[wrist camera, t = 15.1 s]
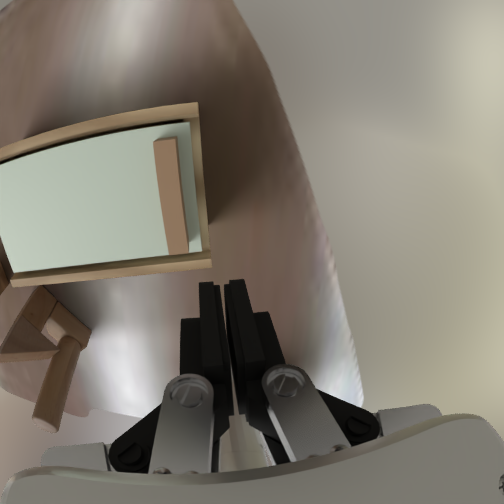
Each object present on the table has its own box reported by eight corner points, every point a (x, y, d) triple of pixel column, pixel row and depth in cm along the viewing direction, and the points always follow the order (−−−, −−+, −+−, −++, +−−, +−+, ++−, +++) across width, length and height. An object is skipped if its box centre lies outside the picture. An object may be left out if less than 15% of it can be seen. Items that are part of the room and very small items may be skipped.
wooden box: (208, 225, 34) (212, 267, 26) (45, 246, 32) (12, 287, 23) (198, 103, 28) (197, 102, 19) (21, 141, 25) (-26, 159, 17)
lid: (201, 246, 26) (202, 262, 24) (17, 268, 24) (5, 283, 21) (189, 121, 21) (188, 123, 19) (-12, 168, 19) (-29, 177, 16)
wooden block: (41, 282, 34) (-13, 377, 18) (92, 330, 39) (64, 432, 23) (30, 294, 34) (-20, 385, 19) (80, 340, 39) (52, 436, 24)
